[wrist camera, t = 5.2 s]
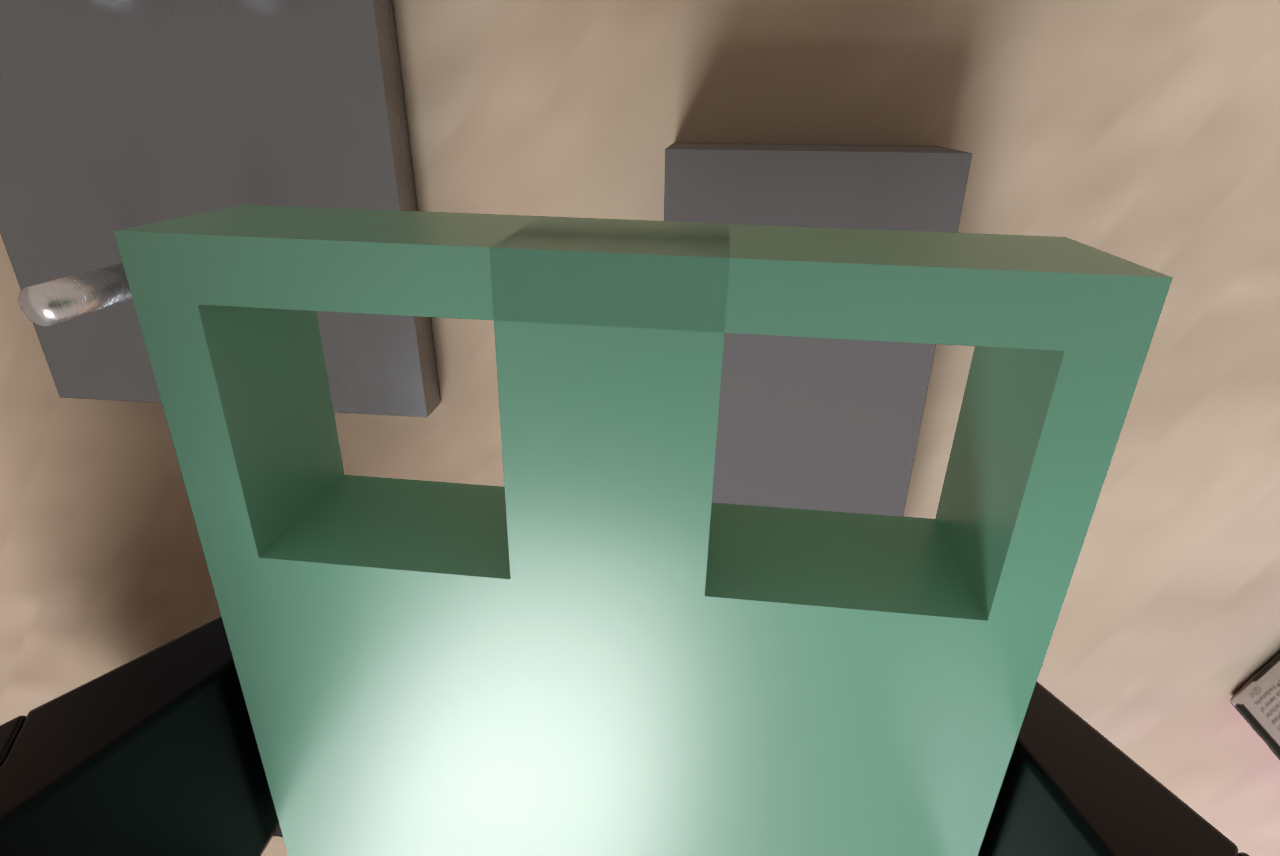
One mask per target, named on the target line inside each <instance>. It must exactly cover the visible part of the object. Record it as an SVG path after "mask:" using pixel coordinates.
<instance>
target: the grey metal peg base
mask: <svg viewBox="0 0 1280 856" xmlns="http://www.w3.org/2000/svg"><path fill="white" fill-rule="evenodd" d="M241 205H269V206H294V207H319V208H344V209H369V210H395V211H417V204H416V195H415V187H414V179H413V170H412V162H411V154H410V145H409V137H408V129H407V120H406V112H405V104H404V96H403V87H402V79H401V71H400V62H399V54H398V46H397V37H396V29H395V21H394V12H393V4H392V0H0V233H1V236H2V239H3V242H4V244H5V247H6V250H7V253H8V255H9V258H10V261H11V264H12V266H13V269H14V272H15V275H16V277H17V280H18V283H19V286H20V288H21V292H20V293H19V298H18V300H19V305H20V308H21V310H22V311H23V313H24V314H25V315H26V317H27V318H28V319H30V320H31V321H32V322H33V324H34V327H35V330H36V332H37V335H38V338H39V341H40V343H41V346H42V349H43V352H44V354H45V357H46V360H47V363H48V365H49V368H50V371H51V374H52V376H53V379H54V382H55V385H56V387H57V390H58V393H59V396H60V397H64V398H82V399H101V400H119V401H137V402H156V403H162V402H161V398H160V395H159V391H158V388H157V384H156V380H155V377H154V373H153V370H152V366H151V363H150V359H149V355H148V352H147V348H146V345H145V341H144V338H143V334H142V330H141V327H140V323H139V320H138V316H137V312H136V309H135V305H134V302H133V298H132V295H131V291H130V287H129V284H128V280H127V277H126V273H125V270H124V266H123V262H122V259H121V255H120V252H119V248H118V244H117V241H116V237H115V234H114V231H116V230H121V229H126V228H131V227H136V226H141V225H146V224H151V223H156V222H161V221H166V220H171V219H176V218H181V217H186V216H191V215H196V214H201V213H206V212H211V211H216V210H221V209H226V208H231V207H236V206H241ZM316 312H317V318H318V324H319V330H320V336H321V342H322V347H323V353H324V359H325V365H326V371H327V377H328V383H329V388H330V394H331V400H332V406H333V412H340V413H358V414H376V415H395V416H413V417H428V416H429V415H430V414H431V413H432V412H433V411H434V409H435V408H436V407H437V406H438V405H439V404H440V395H439V387H438V378H437V370H436V362H435V353H434V345H433V337H432V328H431V320H430V317H421V316H402V315H384V314H365V313H346V312H327V311H316Z"/></svg>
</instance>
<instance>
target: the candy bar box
mask: <svg viewBox="0 0 1280 856" xmlns="http://www.w3.org/2000/svg"><path fill="white" fill-rule="evenodd" d="M1230 701H1231V704H1232V705H1233V706H1234V707H1235V708H1236V709H1237V711H1238V712H1239V713H1240V714H1241V715H1242V716H1243V717H1244V719H1245V720H1246V721H1247V722H1248V723H1249V724H1250V726H1251V727H1252V728H1253V729H1254V730H1255V732H1256V733H1257V734H1258V735H1259V736H1260V737H1261V738H1262V739H1263V740H1264V742H1265V743H1266V744H1267V745H1268V747H1269V748H1270V749H1271V750H1272V752H1273V753H1274V754H1275V755H1276V756H1277V757H1278V759H1279V760H1280V653H1279V654H1278V655H1277V656H1276V657H1275V658H1274V659H1273V660H1272V661H1271V662H1269V663H1268V664H1267V665H1266V666H1265V667H1264V668H1263V669H1261V670H1260V671H1259V672H1258V673H1257V674H1256V675H1255V676H1253V677H1252V678H1251V679H1250V680H1249V681H1248V682H1247V683H1246V684H1245V685H1244V686H1243V687H1242V688H1241V689H1240V690H1239V691H1238V692H1237V693H1236V694H1235V695H1234V696H1233V697H1232V698H1231V700H1230Z"/></svg>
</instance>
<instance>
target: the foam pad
mask: <svg viewBox="0 0 1280 856" xmlns="http://www.w3.org/2000/svg"><path fill="white" fill-rule="evenodd" d="M971 158H972V153H967V152H962V151H957V150H953V149H948V148H943V147H938V146H866V145H793V144H721V143H673V144H672V145H670V146H669V147H668V148H666V149H665V197H664V221H671V222H696V223H721V224H746V225H771V226H796V227H822V228H847V229H872V230H897V231H922V232H947V233H957V231H958V226H959V220H960V215H961V210H962V205H963V199H964V194H965V189H966V184H967V178H968V173H969V168H970V163H971ZM935 346H936V344H926V343H908V342H889V341H870V340H851V339H833V338H814V337H795V336H777V335H758V334H739V333H724V345H723V359H722V372H721V385H720V398H719V412H718V425H717V438H716V452H715V465H714V478H713V491H712V502H713V503H726V504H740V505H753V506H766V507H780V508H793V509H807V510H820V511H833V512H847V513H860V514H873V515H887V516H900V517H903V513H904V508H905V503H906V498H907V492H908V487H909V482H910V477H911V471H912V466H913V461H914V456H915V450H916V445H917V440H918V435H919V430H920V424H921V419H922V414H923V409H924V403H925V398H926V393H927V388H928V382H929V377H930V372H931V367H932V362H933V356H934V351H935Z"/></svg>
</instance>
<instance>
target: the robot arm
mask: <svg viewBox="0 0 1280 856" xmlns="http://www.w3.org/2000/svg"><path fill="white" fill-rule="evenodd" d="M273 836H279V837H283V835H282V831H281V828H280V824H279V821H278V817H277V813H276V810H275V806H274V803H273V799H272V796H271V792H270V788H269V785H268V781H267V778H266V774H265V770H264V767H263V763H262V760H261V756H260V753H259V749H258V745H257V742H256V738H255V735H254V731H253V728H252V724H251V720H250V717H249V713H248V710H247V706H246V702H245V699H244V695H243V692H242V688H241V685H240V681H239V677H238V674H237V670H236V667H235V663H234V660H233V656H232V652H231V649H230V645H229V642H228V638H227V634H226V631H225V627H224V624H223V620H222V617H219V618H217V619H215V620H213V621H211V622H209V623H207V624H205V625H203V626H201V627H199V628H197V629H195V630H193V631H191V632H189V633H187V634H185V635H183V636H181V637H179V638H177V639H175V640H173V641H171V642H169V643H167V644H165V645H163V646H161V647H159V648H157V649H155V650H153V651H151V652H149V653H147V654H145V655H142V656H140V657H138V658H136V659H134V660H132V661H130V662H128V663H126V664H124V665H122V666H120V667H118V668H116V669H114V670H112V671H110V672H108V673H106V674H104V675H102V676H100V677H98V678H96V679H94V680H92V681H90V682H88V683H86V684H84V685H82V686H80V687H78V688H76V689H74V690H72V691H70V692H68V693H66V694H64V695H62V696H59V697H57V698H55V699H53V700H51V701H49V702H47V703H45V704H43V705H41V706H39V707H37V708H35V709H33V710H31V711H30V712H29V713H28V715H27V717H26V716H19V717H17V718H15V719H13V720H11V721H9V722H7V723H5V724H3V725H1V726H0V856H261V855H262V853H263V851H264V850H265V848H266V846H267V845H268V843H269V842H270V840H271V838H272V837H273ZM978 856H1249V855H1248V854H1246V853H1243V852H1241V853H1238V848H1237V846H1236V845H1235V844H1234V843H1233V842H1231V841H1230V840H1229V839H1228V838H1227V837H1225V836H1224V835H1223V834H1222V833H1221V832H1219V831H1218V830H1217V829H1216V828H1214V827H1213V826H1212V825H1211V824H1210V823H1208V822H1207V821H1206V820H1205V819H1204V818H1202V817H1201V816H1200V815H1199V814H1197V813H1196V812H1195V811H1194V810H1193V809H1191V808H1190V807H1189V806H1188V805H1187V804H1185V803H1184V802H1183V801H1182V800H1180V799H1179V798H1178V797H1177V796H1176V795H1174V794H1173V793H1172V792H1171V791H1170V790H1168V789H1167V788H1166V787H1165V786H1163V785H1162V784H1161V783H1160V782H1159V781H1157V780H1156V779H1155V778H1154V777H1152V776H1151V775H1150V774H1149V773H1148V772H1146V771H1145V770H1144V769H1143V768H1142V767H1140V766H1139V765H1138V764H1137V763H1135V762H1134V761H1133V760H1132V759H1131V758H1129V757H1128V756H1127V755H1126V754H1125V753H1123V752H1122V751H1121V750H1120V749H1118V748H1117V747H1116V746H1115V745H1114V744H1112V743H1111V742H1110V741H1109V740H1108V739H1106V738H1105V737H1104V736H1103V735H1101V734H1100V733H1099V732H1098V731H1097V730H1095V729H1094V728H1093V727H1092V726H1091V725H1089V724H1088V723H1087V722H1086V721H1084V720H1083V719H1082V718H1081V717H1080V716H1078V715H1077V714H1076V713H1075V712H1074V711H1072V710H1071V709H1070V708H1069V707H1067V706H1066V705H1065V704H1064V703H1063V702H1061V701H1060V700H1059V699H1058V698H1056V697H1055V696H1054V695H1053V694H1052V693H1050V692H1049V691H1048V690H1047V689H1046V688H1044V687H1043V686H1042V685H1041V684H1039V683H1038V682H1037V681H1036V684H1035V687H1034V690H1033V693H1032V696H1031V699H1030V702H1029V705H1028V708H1027V711H1026V714H1025V717H1024V720H1023V723H1022V726H1021V729H1020V732H1019V735H1018V737H1017V740H1016V743H1015V746H1014V749H1013V752H1012V755H1011V758H1010V761H1009V764H1008V767H1007V770H1006V773H1005V776H1004V779H1003V782H1002V785H1001V788H1000V791H999V794H998V797H997V800H996V803H995V806H994V809H993V812H992V815H991V818H990V821H989V824H988V826H987V829H986V832H985V835H984V838H983V841H982V844H981V847H980V850H979V853H978Z"/></svg>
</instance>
